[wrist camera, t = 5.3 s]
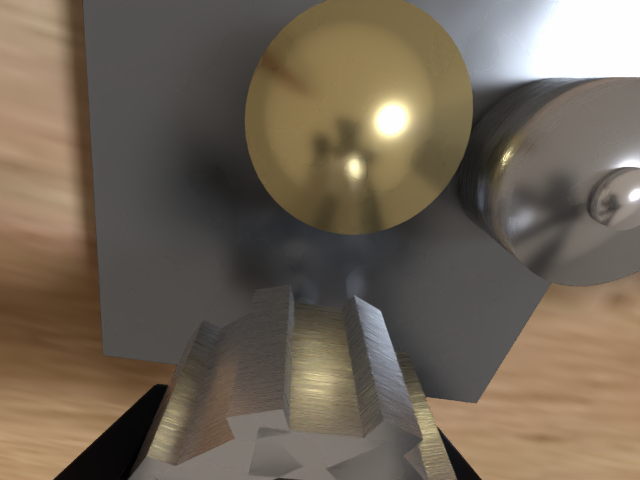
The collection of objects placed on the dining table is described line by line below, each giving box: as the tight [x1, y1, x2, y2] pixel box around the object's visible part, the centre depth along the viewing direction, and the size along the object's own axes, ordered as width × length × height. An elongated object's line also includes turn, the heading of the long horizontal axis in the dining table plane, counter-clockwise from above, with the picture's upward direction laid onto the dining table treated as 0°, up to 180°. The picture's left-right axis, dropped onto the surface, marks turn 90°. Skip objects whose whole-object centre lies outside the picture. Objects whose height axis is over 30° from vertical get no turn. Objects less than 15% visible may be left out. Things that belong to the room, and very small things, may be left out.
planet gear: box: [127, 284, 457, 480], centre depth 8 cm, size 6×6×4 cm
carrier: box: [83, 0, 640, 403], centre depth 10 cm, size 16×16×5 cm
